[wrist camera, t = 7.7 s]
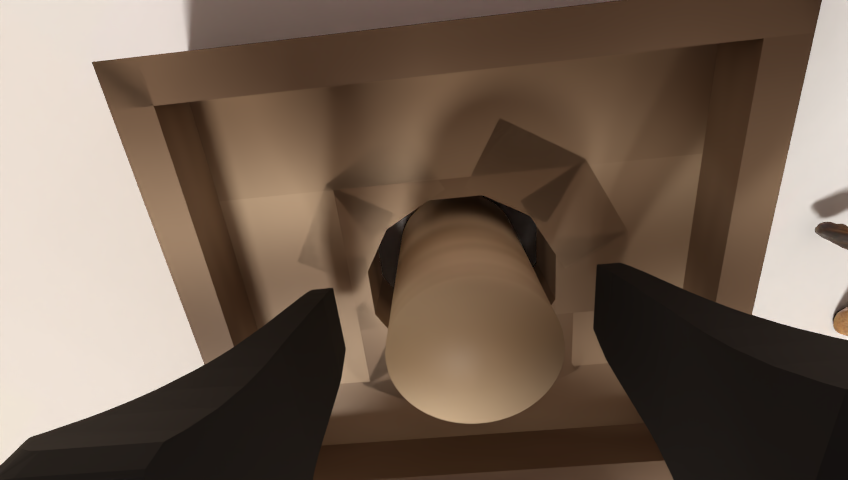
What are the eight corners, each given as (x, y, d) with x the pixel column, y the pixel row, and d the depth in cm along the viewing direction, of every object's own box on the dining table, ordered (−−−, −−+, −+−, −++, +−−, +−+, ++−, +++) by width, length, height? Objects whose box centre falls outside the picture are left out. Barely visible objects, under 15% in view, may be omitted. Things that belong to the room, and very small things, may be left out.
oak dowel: (515, 292, 16) (561, 418, 10) (407, 300, 16) (396, 428, 11) (514, 187, 14) (568, 269, 9) (394, 197, 15) (373, 284, 9)
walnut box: (654, 390, 18) (715, 479, 14) (292, 417, 18) (257, 508, 15) (706, 0, 12) (826, -24, 8) (187, 60, 13) (92, 61, 9)
